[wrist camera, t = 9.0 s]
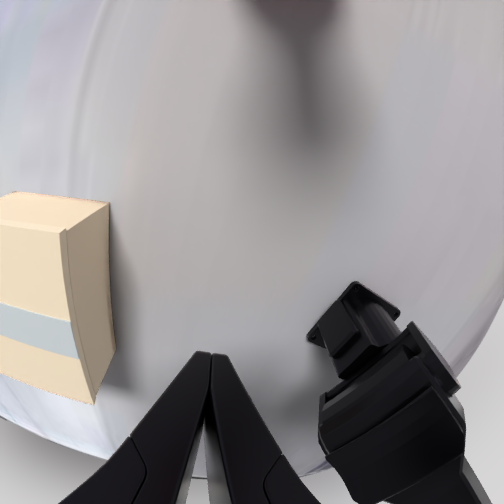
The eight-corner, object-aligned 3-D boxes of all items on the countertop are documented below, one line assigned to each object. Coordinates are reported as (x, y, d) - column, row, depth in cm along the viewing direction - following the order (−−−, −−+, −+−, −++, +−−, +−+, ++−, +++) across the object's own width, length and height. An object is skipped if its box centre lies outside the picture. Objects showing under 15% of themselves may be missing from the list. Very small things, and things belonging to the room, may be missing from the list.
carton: (109, 202, 18) (66, 230, 13) (116, 349, 24) (95, 395, 18) (15, 191, 17) (-33, 212, 11) (35, 324, 22) (7, 360, 17)
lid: (65, 227, 13) (58, 233, 12) (96, 397, 18) (93, 406, 17) (-41, 213, 11) (-49, 217, 10) (3, 367, 16) (-1, 373, 15)
